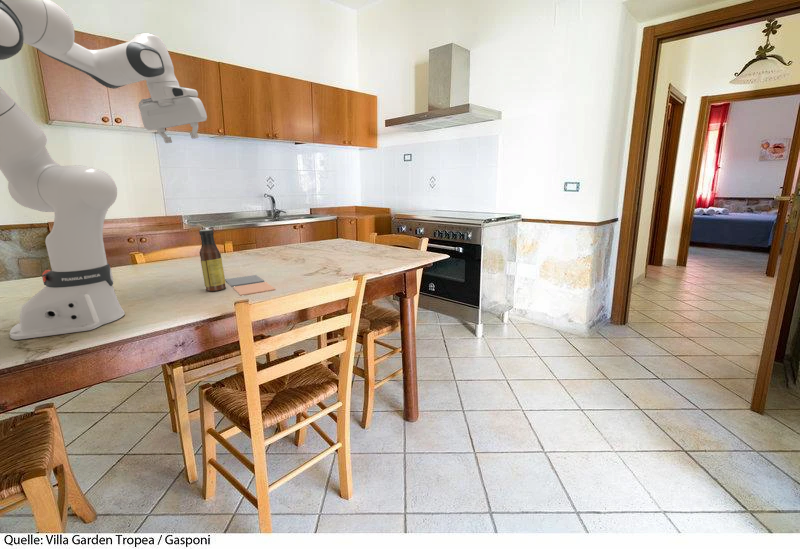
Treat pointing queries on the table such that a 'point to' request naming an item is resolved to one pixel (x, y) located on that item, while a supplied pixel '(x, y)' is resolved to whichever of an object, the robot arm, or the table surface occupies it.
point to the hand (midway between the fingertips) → (182, 140)
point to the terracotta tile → (253, 288)
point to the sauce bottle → (211, 262)
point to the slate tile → (244, 280)
